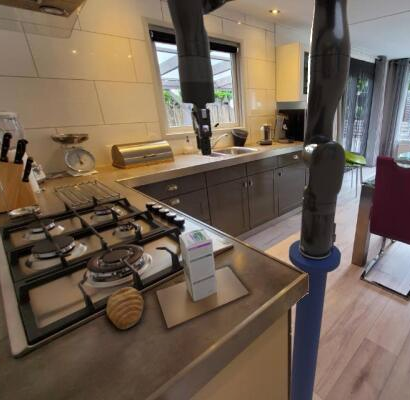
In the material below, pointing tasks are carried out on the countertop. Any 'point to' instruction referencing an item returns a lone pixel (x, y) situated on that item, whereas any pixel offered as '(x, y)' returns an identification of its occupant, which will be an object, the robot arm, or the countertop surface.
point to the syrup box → (198, 264)
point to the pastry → (125, 307)
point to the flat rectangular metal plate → (187, 309)
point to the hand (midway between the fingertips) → (204, 151)
